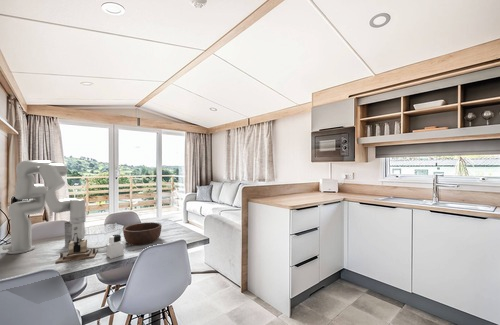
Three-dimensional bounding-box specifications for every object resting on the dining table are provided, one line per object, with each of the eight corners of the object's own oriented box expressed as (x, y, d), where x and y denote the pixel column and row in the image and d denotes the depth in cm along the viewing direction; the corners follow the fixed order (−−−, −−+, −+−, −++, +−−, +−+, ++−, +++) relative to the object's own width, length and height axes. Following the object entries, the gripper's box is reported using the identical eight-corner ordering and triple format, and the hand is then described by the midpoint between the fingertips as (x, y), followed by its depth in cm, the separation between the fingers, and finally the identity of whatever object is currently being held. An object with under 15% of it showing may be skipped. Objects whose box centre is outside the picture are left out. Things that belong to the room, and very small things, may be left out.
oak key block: (85, 251, 139) (85, 241, 139) (68, 253, 136) (68, 243, 136) (87, 249, 143) (87, 239, 143) (71, 251, 140) (71, 241, 140)
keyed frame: (55, 263, 130) (55, 257, 130) (62, 255, 141) (62, 249, 141) (93, 257, 137) (93, 251, 137) (97, 250, 149) (97, 244, 149)
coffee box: (76, 241, 167) (76, 219, 167) (84, 242, 165) (84, 219, 165) (64, 246, 158) (64, 222, 158) (72, 246, 156) (72, 222, 156)
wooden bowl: (169, 237, 173) (169, 224, 173) (140, 249, 151) (140, 233, 151) (144, 234, 184) (144, 220, 184) (114, 244, 161) (114, 229, 161)
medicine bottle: (119, 252, 145) (118, 233, 145) (123, 255, 141) (123, 235, 141) (106, 255, 140) (106, 235, 140) (111, 258, 135) (110, 238, 135)
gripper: (82, 222, 133) (82, 254, 133) (88, 216, 149) (88, 245, 148) (65, 223, 130) (65, 256, 130) (74, 217, 146) (74, 247, 145)
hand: (78, 250), depth 139 cm, fingers closed on oak key block, 4 cm apart
